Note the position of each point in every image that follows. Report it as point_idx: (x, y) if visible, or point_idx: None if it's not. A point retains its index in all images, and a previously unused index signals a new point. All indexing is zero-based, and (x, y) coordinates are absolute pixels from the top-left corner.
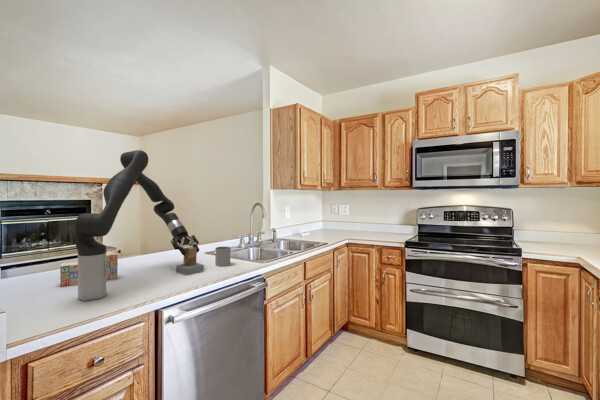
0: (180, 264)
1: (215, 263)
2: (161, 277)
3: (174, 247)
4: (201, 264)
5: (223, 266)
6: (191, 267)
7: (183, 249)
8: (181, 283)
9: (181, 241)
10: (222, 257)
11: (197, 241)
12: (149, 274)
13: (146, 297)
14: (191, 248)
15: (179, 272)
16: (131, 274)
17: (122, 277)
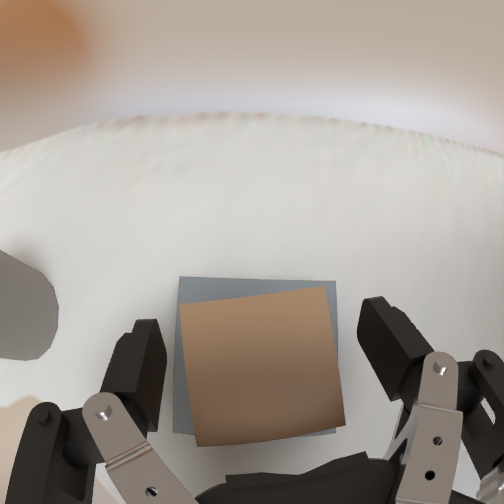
0: (295, 436)
1: (43, 344)
2: None
3: (481, 407)
4: (183, 299)
5: (47, 280)
6: (294, 280)
7: (404, 327)
8: (398, 192)
9: (458, 441)
10: (15, 266)
11: (36, 436)
12: None
13: (493, 174)
14: (283, 308)
15: None
16: None
17: None
